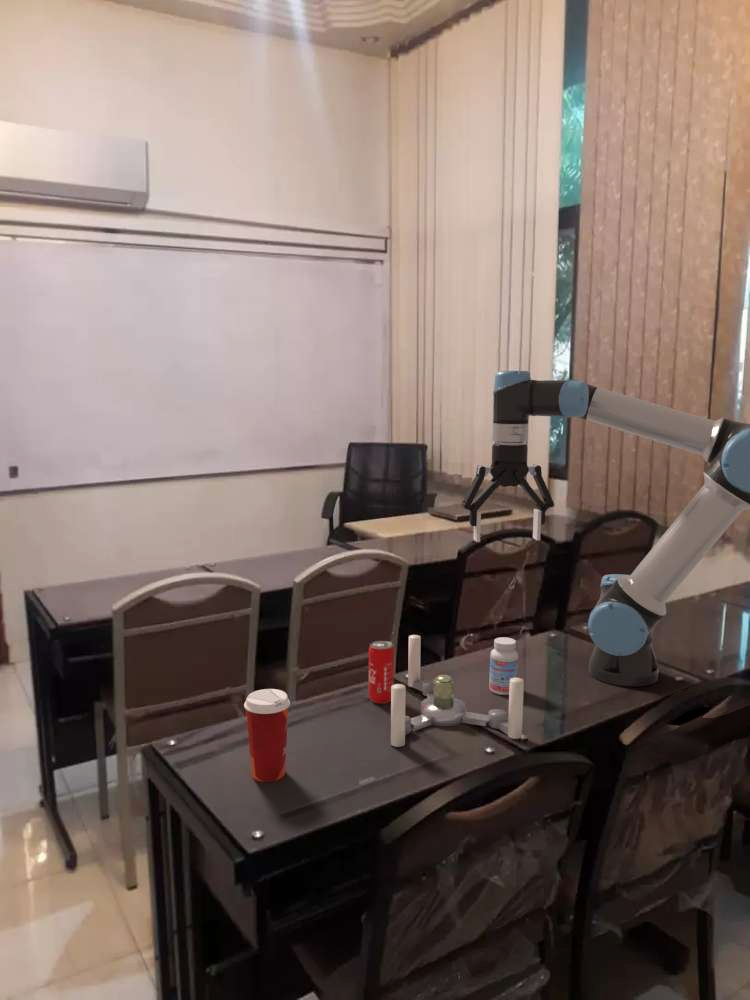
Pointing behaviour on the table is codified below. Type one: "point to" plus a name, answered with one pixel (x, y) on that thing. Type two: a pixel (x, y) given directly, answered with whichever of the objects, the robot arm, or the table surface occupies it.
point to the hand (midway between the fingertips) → (506, 540)
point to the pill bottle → (503, 665)
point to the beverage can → (381, 671)
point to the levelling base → (445, 708)
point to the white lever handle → (417, 667)
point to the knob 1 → (399, 716)
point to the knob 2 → (510, 711)
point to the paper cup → (267, 733)
